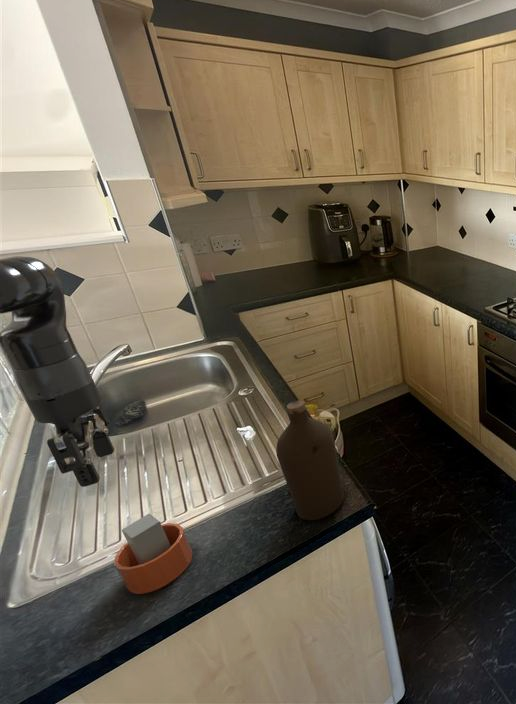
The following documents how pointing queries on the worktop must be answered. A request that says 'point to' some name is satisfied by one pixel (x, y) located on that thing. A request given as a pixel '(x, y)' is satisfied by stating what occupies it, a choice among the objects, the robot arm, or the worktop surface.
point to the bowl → (155, 563)
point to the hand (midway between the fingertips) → (99, 468)
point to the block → (146, 539)
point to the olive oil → (309, 464)
